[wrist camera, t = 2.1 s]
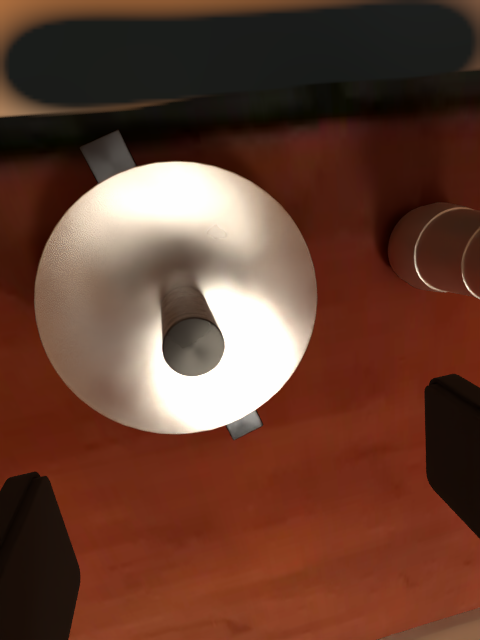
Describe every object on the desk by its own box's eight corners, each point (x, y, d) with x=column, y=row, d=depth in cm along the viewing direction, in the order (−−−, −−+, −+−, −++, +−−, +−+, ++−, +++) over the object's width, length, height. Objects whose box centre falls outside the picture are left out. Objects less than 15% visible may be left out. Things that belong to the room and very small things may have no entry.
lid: (126, 465, 29) (114, 564, 21) (-22, 238, 23) (-111, 257, 16) (344, 356, 30) (411, 412, 22) (250, 113, 24) (295, 72, 16)
